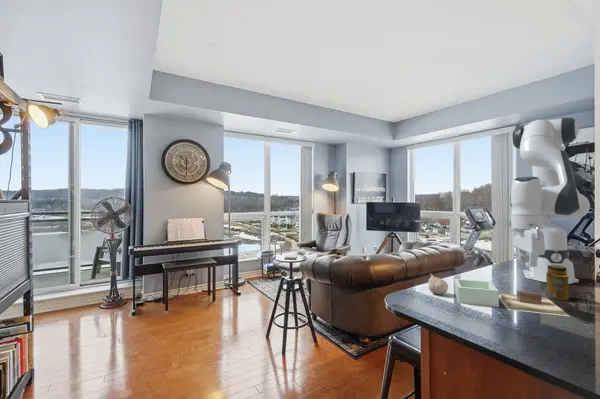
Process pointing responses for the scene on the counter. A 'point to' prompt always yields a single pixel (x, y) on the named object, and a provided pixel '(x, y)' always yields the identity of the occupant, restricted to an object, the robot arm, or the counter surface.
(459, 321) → the counter surface
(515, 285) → the counter surface
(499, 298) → the white square tile
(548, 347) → the counter surface
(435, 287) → the garlic bulb
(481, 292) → the mint green open box
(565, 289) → the condiment
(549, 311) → the oak cover
